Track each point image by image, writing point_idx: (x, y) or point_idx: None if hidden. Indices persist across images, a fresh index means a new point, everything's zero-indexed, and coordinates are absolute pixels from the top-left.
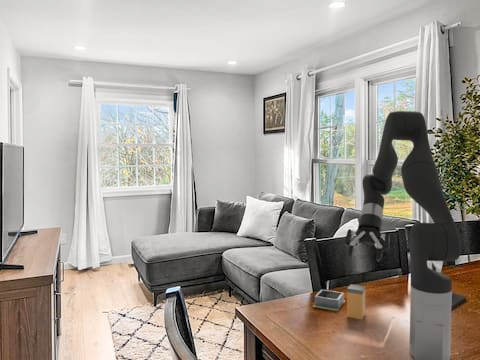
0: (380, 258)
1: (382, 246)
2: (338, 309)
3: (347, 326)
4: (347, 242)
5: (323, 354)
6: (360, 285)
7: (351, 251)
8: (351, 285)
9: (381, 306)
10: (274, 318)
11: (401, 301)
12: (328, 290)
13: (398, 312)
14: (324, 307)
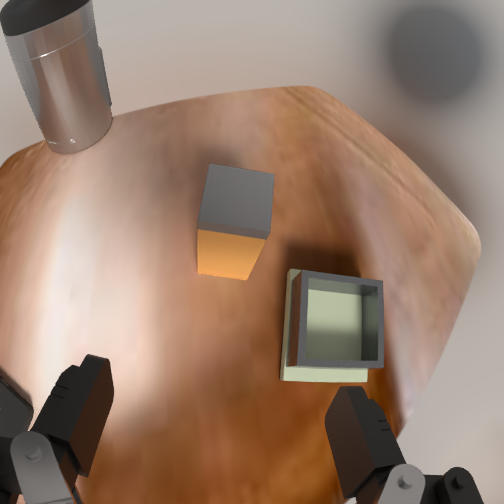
0: (73, 372)
1: (14, 468)
2: (290, 281)
3: None
4: (448, 481)
5: (269, 89)
6: (221, 224)
7: (363, 414)
8: (263, 213)
9: (145, 401)
10: (411, 203)
11: None
12: (358, 367)
13: None
14: None
